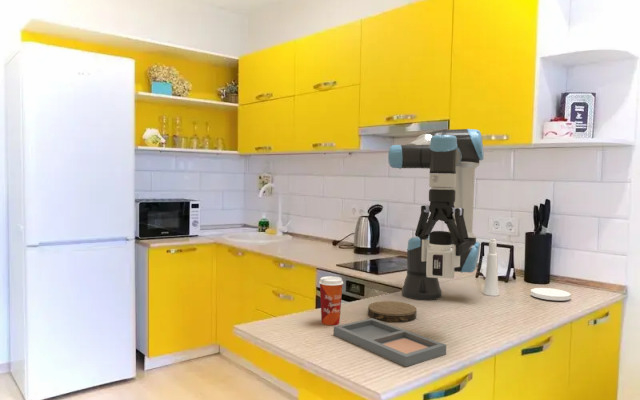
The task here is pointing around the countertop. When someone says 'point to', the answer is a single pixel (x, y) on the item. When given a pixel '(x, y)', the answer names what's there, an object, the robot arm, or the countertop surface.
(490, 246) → the cosmetic bottle
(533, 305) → the countertop surface
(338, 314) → the paper cup
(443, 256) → the container
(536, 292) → the plastic lid
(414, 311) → the brown disc
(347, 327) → the two-bay tray
